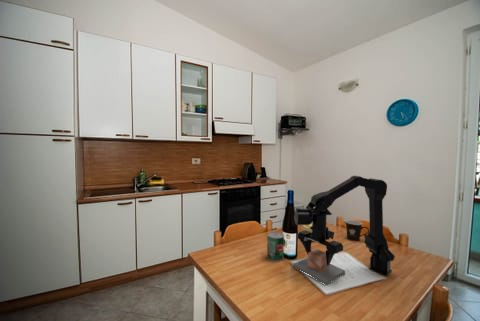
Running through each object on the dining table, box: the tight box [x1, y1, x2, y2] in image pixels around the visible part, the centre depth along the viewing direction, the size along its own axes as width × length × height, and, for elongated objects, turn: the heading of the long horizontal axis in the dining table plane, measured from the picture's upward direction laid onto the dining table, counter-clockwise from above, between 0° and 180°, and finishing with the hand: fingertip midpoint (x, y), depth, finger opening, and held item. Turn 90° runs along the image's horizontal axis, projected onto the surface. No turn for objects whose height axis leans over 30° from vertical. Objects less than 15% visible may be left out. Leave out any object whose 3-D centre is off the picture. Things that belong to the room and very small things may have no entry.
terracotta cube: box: [307, 248, 329, 272], centre depth 91 cm, size 6×6×6 cm
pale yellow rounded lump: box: [301, 224, 312, 233], centre depth 127 cm, size 12×12×11 cm
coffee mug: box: [345, 219, 370, 242], centre depth 125 cm, size 12×9×10 cm
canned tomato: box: [266, 231, 285, 262], centre depth 103 cm, size 8×8×11 cm
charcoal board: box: [292, 257, 346, 286], centre depth 91 cm, size 16×14×2 cm
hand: (318, 260), depth 91 cm, fingers open, 9 cm apart
